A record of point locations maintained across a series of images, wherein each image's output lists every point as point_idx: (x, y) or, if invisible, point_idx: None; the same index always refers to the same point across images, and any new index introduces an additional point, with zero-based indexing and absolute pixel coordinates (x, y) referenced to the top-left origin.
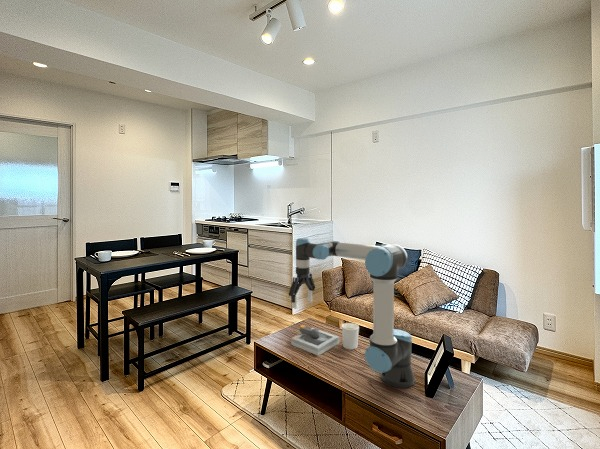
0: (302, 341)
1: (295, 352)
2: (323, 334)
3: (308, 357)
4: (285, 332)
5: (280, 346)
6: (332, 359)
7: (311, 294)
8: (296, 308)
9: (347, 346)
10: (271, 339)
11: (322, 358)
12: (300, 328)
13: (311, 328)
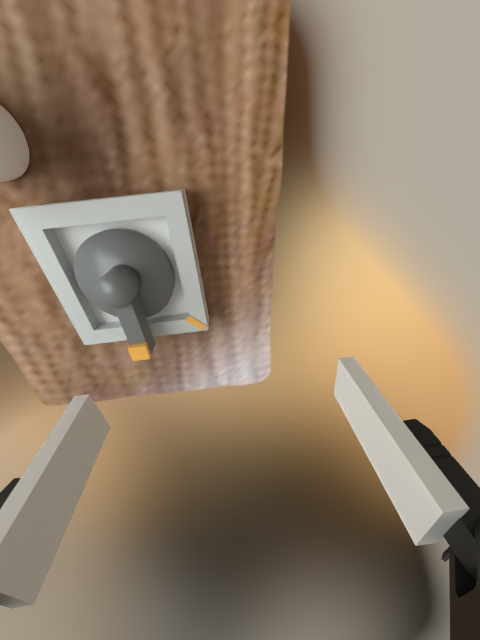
0: (193, 287)
1: (234, 270)
2: (72, 282)
3: (224, 209)
4: (171, 382)
5: (242, 328)
6: (154, 110)
7: (28, 500)
8: (342, 358)
9: (10, 123)
10: (232, 372)
11: (185, 157)
12: (151, 350)
13: (93, 343)
